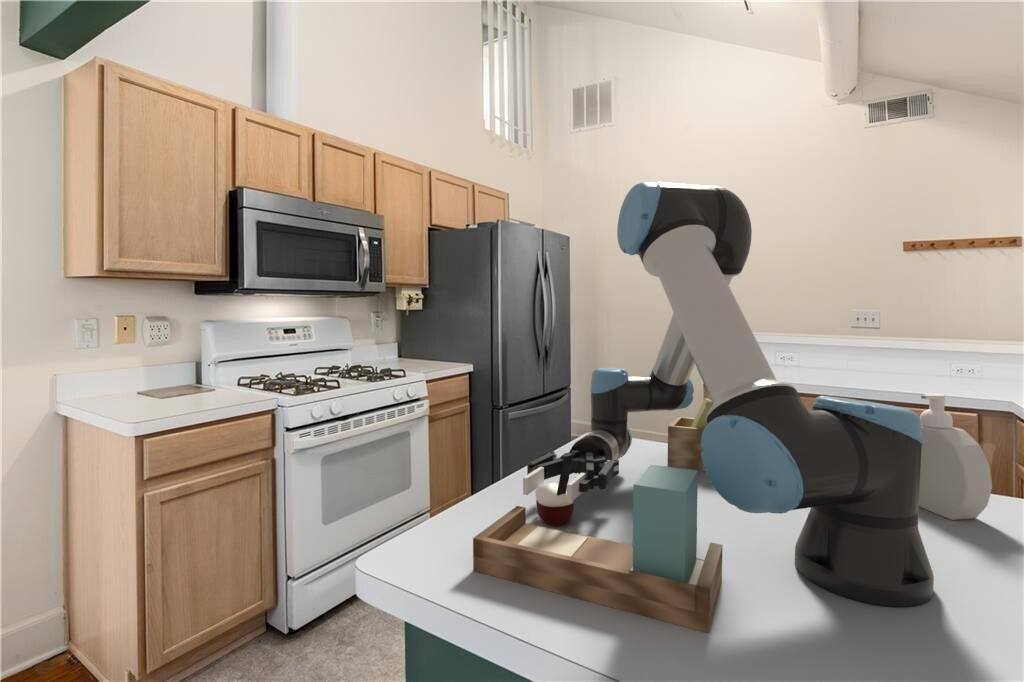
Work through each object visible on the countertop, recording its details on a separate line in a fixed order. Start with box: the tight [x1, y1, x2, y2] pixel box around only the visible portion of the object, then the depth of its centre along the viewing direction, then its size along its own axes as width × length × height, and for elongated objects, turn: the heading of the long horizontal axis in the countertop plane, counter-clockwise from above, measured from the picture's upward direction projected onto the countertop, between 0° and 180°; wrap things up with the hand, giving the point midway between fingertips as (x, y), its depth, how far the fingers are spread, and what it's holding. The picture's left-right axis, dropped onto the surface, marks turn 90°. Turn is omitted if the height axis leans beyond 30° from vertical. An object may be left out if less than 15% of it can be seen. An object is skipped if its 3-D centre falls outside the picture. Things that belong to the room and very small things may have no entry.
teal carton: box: [632, 464, 699, 583], centre depth 66 cm, size 6×9×12 cm
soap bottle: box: [919, 393, 993, 521], centre depth 92 cm, size 16×5×20 cm, turn 8°
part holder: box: [667, 416, 706, 472], centre depth 116 cm, size 26×11×9 cm, turn 62°
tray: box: [472, 505, 723, 634], centre depth 70 cm, size 30×13×4 cm, turn 62°
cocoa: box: [534, 455, 575, 527], centre depth 87 cm, size 10×6×12 cm, turn 2°
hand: (546, 489), depth 82 cm, fingers closed on cocoa, 7 cm apart
